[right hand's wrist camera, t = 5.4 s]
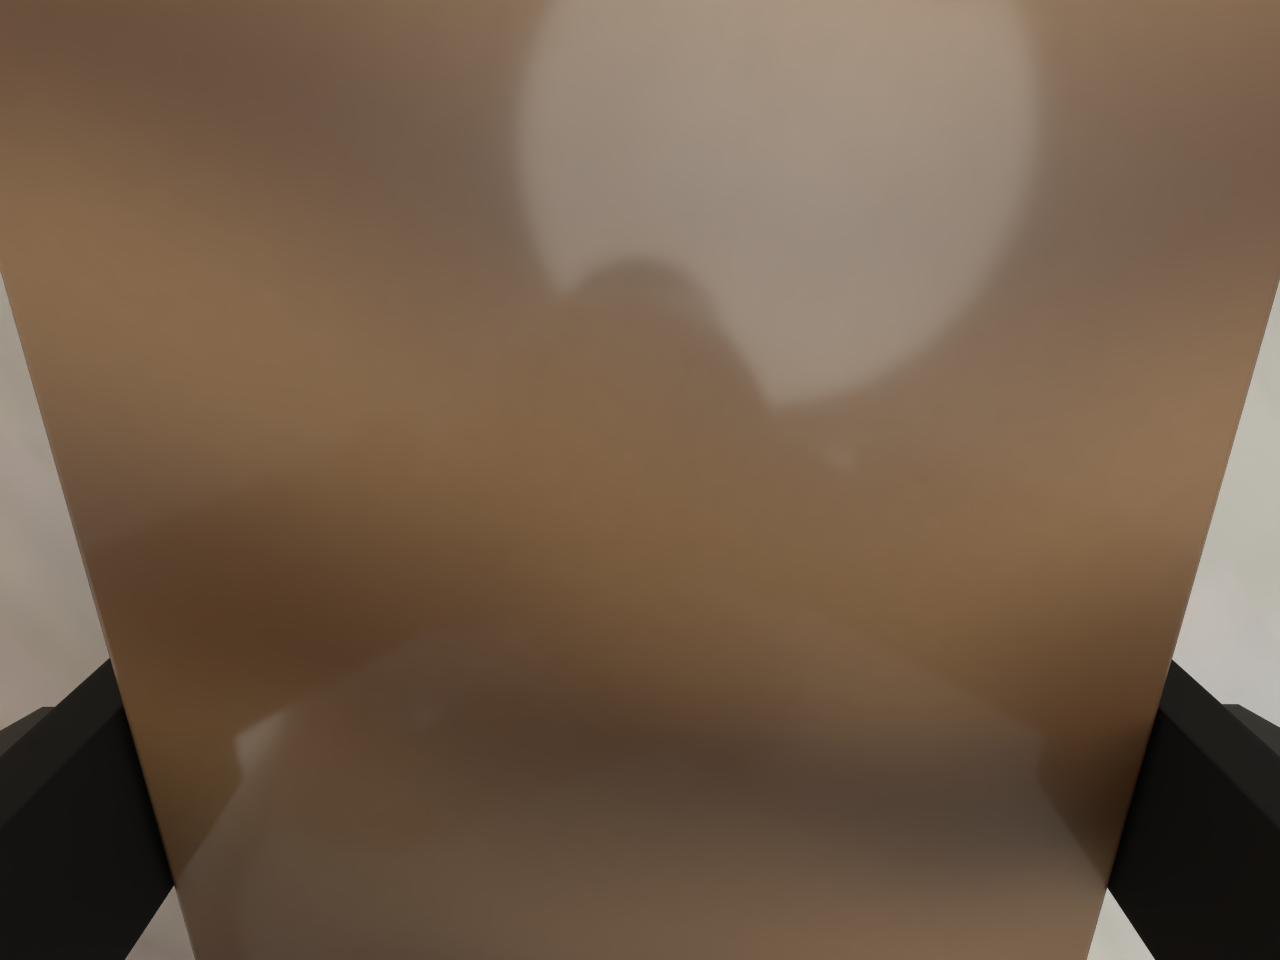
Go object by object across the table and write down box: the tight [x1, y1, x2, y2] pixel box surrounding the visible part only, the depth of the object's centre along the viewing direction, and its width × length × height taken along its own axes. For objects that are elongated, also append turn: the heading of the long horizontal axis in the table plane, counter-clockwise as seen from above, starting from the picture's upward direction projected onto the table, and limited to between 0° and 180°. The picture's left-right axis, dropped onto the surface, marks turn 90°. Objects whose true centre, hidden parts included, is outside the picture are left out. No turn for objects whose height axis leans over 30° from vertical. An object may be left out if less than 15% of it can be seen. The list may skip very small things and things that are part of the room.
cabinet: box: [0, 0, 1280, 960], centre depth 11 cm, size 22×12×10 cm, turn 0°
